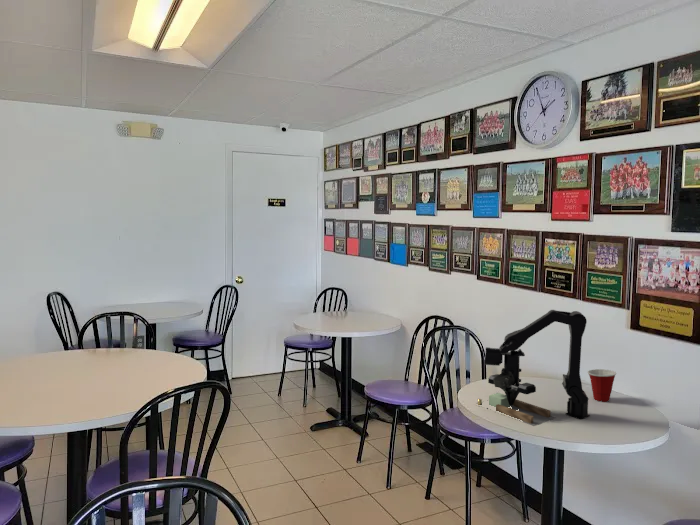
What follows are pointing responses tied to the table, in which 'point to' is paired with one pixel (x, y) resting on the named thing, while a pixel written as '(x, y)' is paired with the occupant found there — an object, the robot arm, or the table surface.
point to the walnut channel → (526, 407)
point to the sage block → (498, 400)
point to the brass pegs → (479, 401)
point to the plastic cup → (601, 383)
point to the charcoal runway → (534, 416)
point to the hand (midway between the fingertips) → (511, 405)
